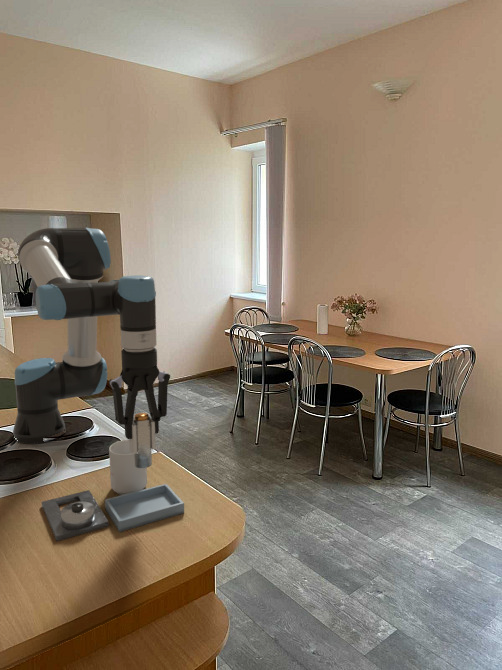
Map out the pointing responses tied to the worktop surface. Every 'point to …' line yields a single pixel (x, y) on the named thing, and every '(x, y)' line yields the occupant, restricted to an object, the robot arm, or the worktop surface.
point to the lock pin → (143, 440)
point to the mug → (125, 469)
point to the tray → (143, 507)
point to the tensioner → (74, 515)
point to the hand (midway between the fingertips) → (142, 449)
